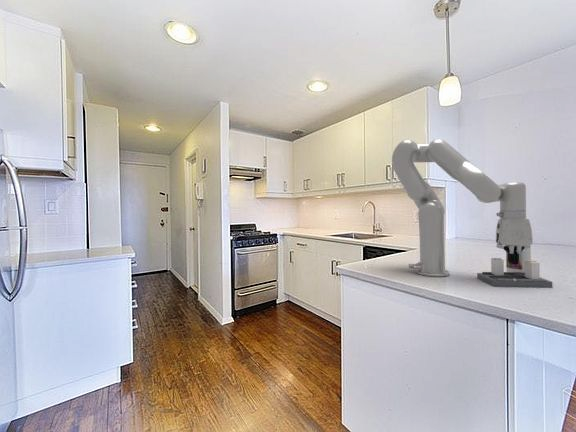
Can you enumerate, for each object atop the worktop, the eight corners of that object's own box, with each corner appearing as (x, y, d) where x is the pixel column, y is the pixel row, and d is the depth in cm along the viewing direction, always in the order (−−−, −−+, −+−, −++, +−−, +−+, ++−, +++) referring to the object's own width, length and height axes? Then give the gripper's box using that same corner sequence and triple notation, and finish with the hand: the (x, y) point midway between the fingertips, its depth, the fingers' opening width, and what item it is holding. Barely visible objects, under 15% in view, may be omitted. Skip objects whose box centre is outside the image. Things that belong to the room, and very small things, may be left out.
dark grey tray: (493, 286, 96) (493, 279, 96) (477, 277, 107) (477, 271, 107) (552, 287, 92) (552, 279, 92) (529, 278, 104) (529, 271, 104)
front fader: (531, 279, 95) (531, 262, 95) (524, 276, 98) (524, 260, 98) (539, 279, 94) (539, 262, 94) (532, 277, 98) (532, 260, 98)
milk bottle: (521, 272, 114) (520, 225, 113) (536, 276, 106) (535, 226, 106) (501, 272, 115) (501, 225, 114) (515, 277, 107) (514, 227, 106)
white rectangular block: (496, 275, 102) (496, 259, 101) (491, 273, 105) (490, 257, 105) (503, 275, 101) (503, 259, 101) (498, 273, 105) (498, 257, 104)
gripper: (496, 216, 99) (496, 265, 100) (543, 215, 96) (543, 266, 97) (485, 215, 107) (485, 261, 107) (528, 214, 104) (529, 261, 104)
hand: (513, 263), depth 102 cm, fingers closed
